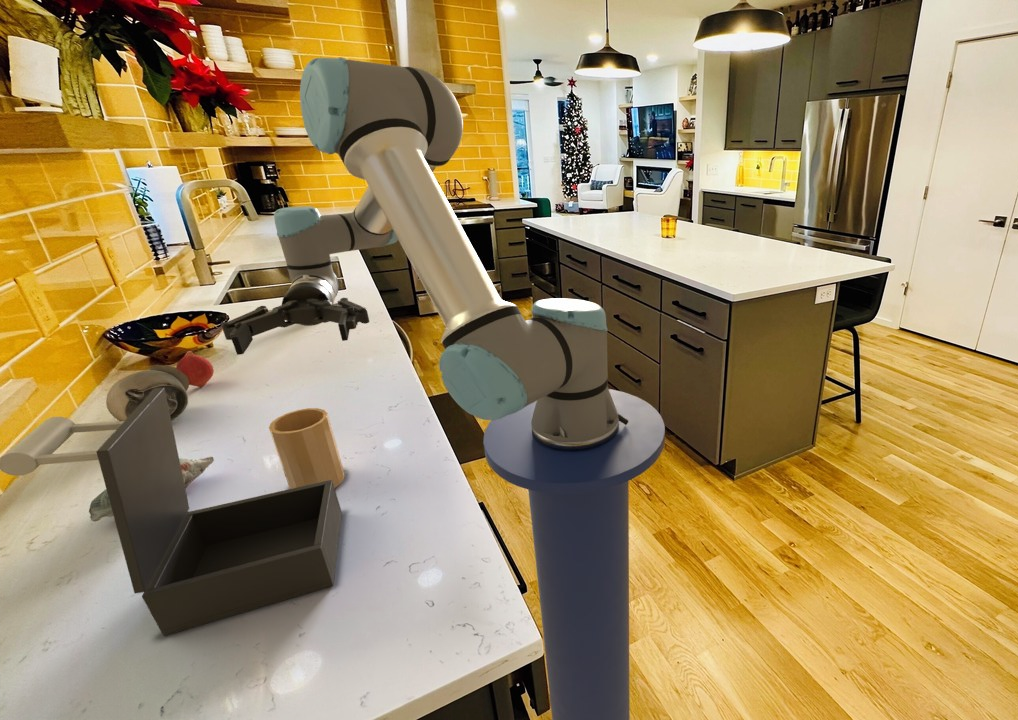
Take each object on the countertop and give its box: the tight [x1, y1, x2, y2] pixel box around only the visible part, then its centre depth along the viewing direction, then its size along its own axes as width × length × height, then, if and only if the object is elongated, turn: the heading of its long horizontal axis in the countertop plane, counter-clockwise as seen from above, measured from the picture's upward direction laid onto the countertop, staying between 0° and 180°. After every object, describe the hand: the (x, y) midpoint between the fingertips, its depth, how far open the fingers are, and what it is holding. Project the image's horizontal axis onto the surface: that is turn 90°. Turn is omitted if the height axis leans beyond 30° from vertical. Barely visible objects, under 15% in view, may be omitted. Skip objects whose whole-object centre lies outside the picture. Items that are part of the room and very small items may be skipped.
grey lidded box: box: [141, 480, 343, 637], centre depth 60 cm, size 16×14×6 cm
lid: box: [0, 388, 190, 594], centre depth 51 cm, size 16×14×9 cm
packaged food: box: [88, 456, 215, 523], centre depth 71 cm, size 9×12×5 cm
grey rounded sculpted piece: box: [105, 364, 190, 422], centre depth 89 cm, size 10×12×10 cm
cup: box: [268, 407, 346, 489], centre depth 74 cm, size 7×7×11 cm
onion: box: [175, 350, 215, 388], centre depth 103 cm, size 6×6×8 cm
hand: (291, 339), depth 76 cm, fingers open, 13 cm apart
